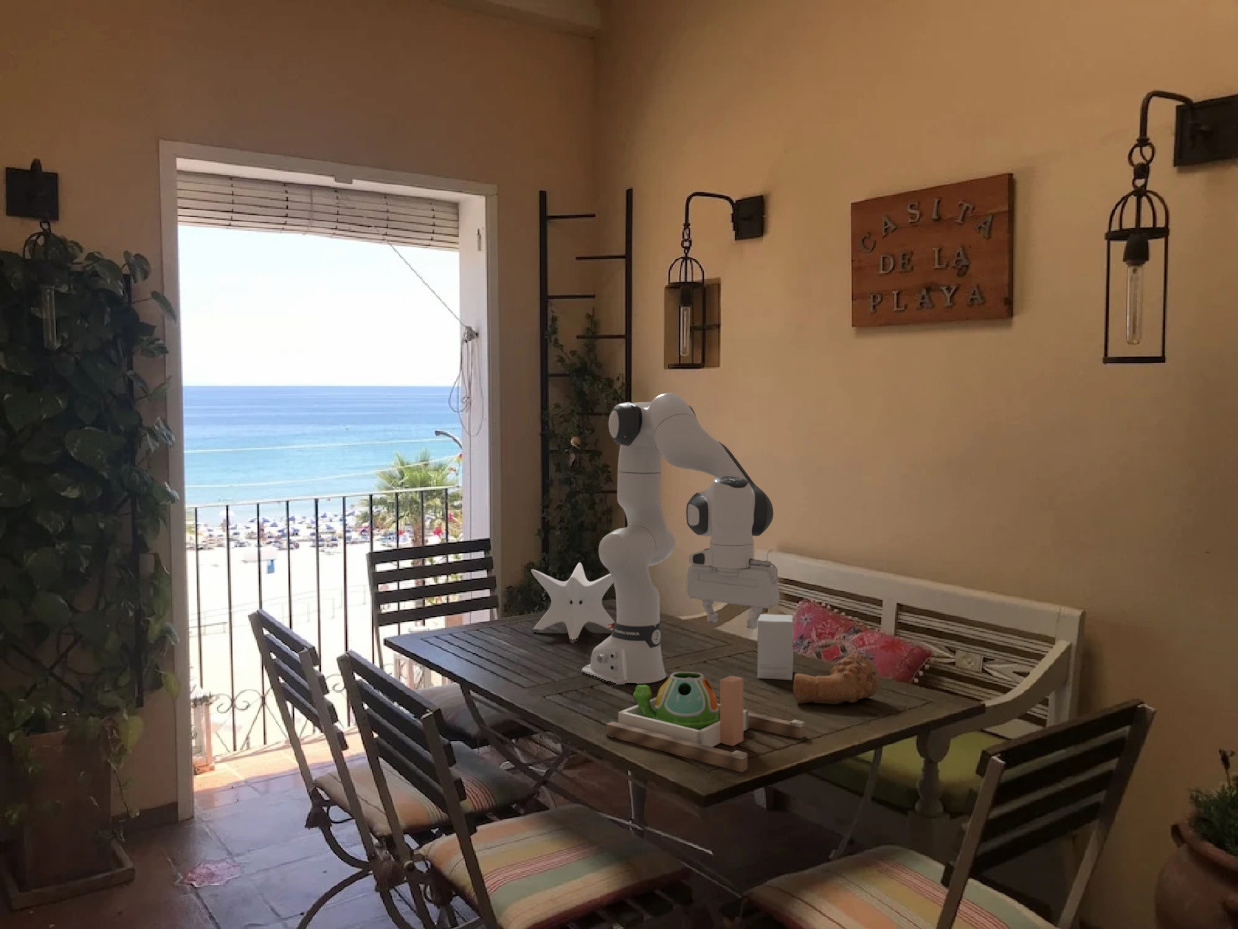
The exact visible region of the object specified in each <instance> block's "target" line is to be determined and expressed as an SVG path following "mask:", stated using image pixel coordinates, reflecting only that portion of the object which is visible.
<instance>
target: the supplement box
mask: <svg viewBox="0 0 1238 929" xmlns="http://www.w3.org/2000/svg"><path fill="white" fill-rule="evenodd" d="M793 670H794V616H793V615H791V614H765V613H761V615H760V617H759V618H758V626H757V679H764V680H765V679H767V680H770V679H771V680H783V681H784V680H786V681H792V680H793V674H794V673H793V672H794V671H793Z"/></svg>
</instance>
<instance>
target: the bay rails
mask: <svg viewBox="0 0 1238 929" xmlns="http://www.w3.org/2000/svg"><path fill="white" fill-rule="evenodd" d="M748 728H750V729H751V728H752V729H754V730H759V731H763V730H766V731H765V732H768V731H769V732H768V733H772V732H773V734H777V735H781V736H785V737H789V736H791V737H790V738H793V737H796V738H795V739H798V738H801V737H803V736H805V737H806V722H805V721H802V720H798V719H793V720H791V721H790V720H785V719H780V718H776V717H772V716H766V715H763V714H759V713H754V712H750V711H748ZM605 734H606V735H608V736H607V737H609V736H613V737H616V738H615V739H617V738H618V739H617V740H620V739H621V741H624V742H629V743H631V742H632V744H636V745H639V746H643V747H647V748H649V749H654V750H658V751H662V752H665V753H669V754H673V755H677V756H679V757H680V756H681V757H683V758H687V759H691V760H695V761H697V762H698V761H699V762H701V763H706V764H709V765H712V766H717V767H721V768H723V769H728V770H732V771H736V772H740V773H744V772H745V771H747V770H748V752H744V751H741V750H737V749H736V750H734V751H733V752H732V751H730V750H729V751H728V750H725V749H720V748H717V747H714V746H713V747H710V746H706V745H702V744H698V743H694V742H690V741H686V740H682V739H678V738H675V737H671V736H667V735H663V734H659V733H655V732H651V731H647V730H643V729H640V728H636V727H632V726H628V725H624V724H620V723H619V722H617V721H610V722H608V723H605ZM606 735H605V736H606ZM613 737H612V738H613ZM803 738H804V737H803ZM801 739H802V738H801Z"/></svg>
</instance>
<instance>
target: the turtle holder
mask: <svg viewBox="0 0 1238 929" xmlns="http://www.w3.org/2000/svg"><path fill="white" fill-rule="evenodd" d="M713 688H714V687H712V685H711V684H710V682H709V681H708V680H707V678H705V676H704V674H703V673H701V672H696V671H695V672H694V671H675V672H672V673H671V674H670V676H669V678H668V679H667V680H665V682H663V683H662V685H661V686H660V687H659V690H658V692H657V695H656V697H657V698H656V697H655V698H656V704H655V708H656V712H655V711H654V710H653V709H652V708H651V706H650V700H651V699H652V695H653V692H652V690H651V688H650V686H649V685H647V684H638V685H637V684H636V687H635V690H634V692H633V697H634V698H635V700H636V702H637V705H638V707H639V710H640V712H641V715H642V716H644V717H648V718H652V719H656V720H660V721H664V722H668V723H672V724H676V725H680V726H684V727H688V728H692V729H696V730H701V729H704V728H706V727H708V726H710V725H712V724H714V723H716V722H717V721H718V715H717V713H718V709H719V707H718V704H719V703H718V699H717V696H716V693H715V691H714V689H713ZM717 703H718V704H717Z"/></svg>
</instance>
